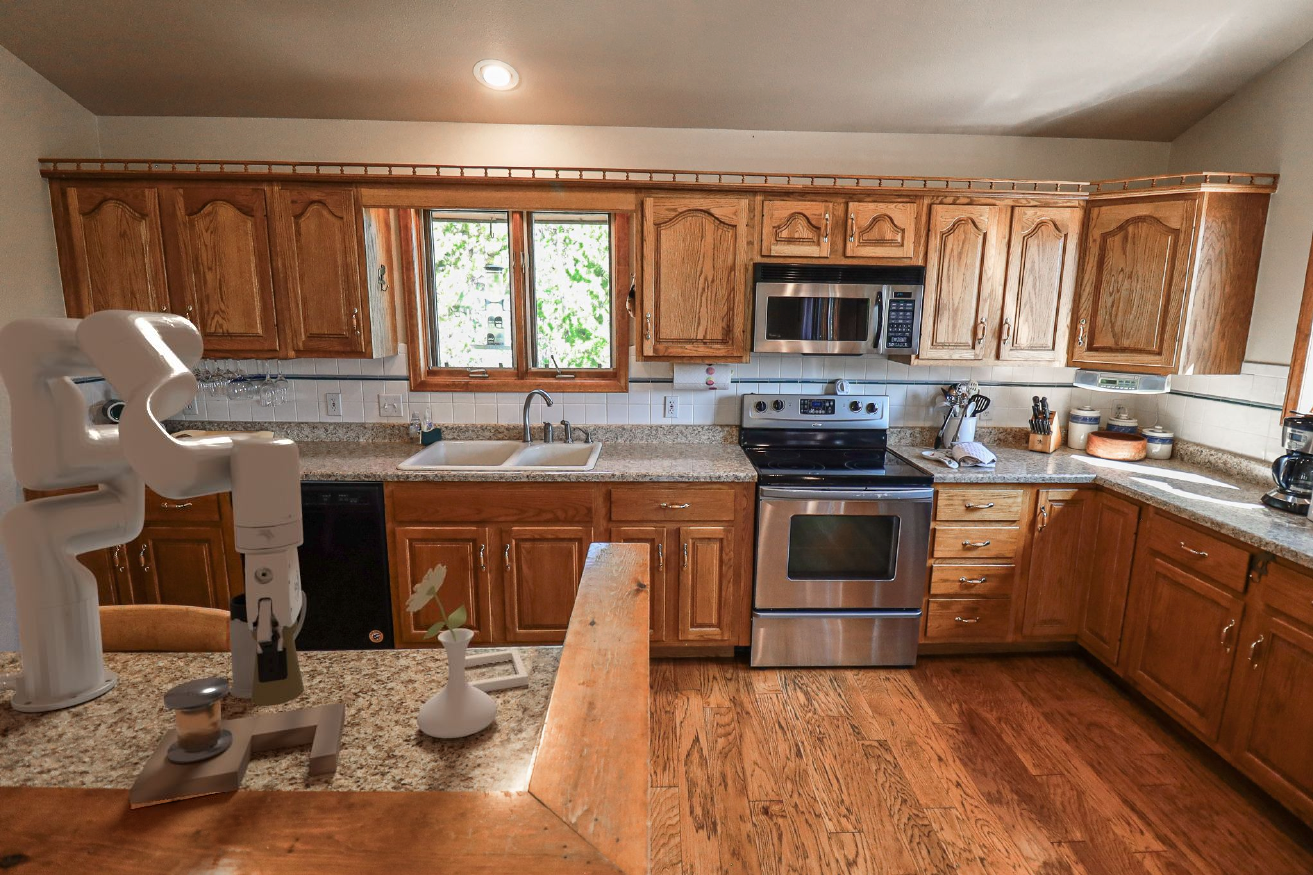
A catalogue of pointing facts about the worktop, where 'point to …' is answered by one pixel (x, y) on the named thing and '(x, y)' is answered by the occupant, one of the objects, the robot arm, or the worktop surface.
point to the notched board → (243, 753)
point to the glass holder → (246, 646)
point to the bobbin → (198, 720)
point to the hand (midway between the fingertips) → (276, 670)
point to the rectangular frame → (499, 681)
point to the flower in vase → (451, 672)
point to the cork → (279, 689)
